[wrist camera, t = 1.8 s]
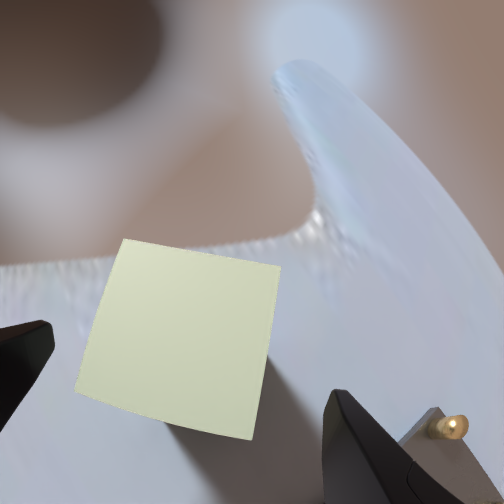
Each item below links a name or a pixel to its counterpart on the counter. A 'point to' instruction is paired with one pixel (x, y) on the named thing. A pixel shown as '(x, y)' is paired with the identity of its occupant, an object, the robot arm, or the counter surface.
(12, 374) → the robot arm
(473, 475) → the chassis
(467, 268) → the counter surface
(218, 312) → the sage block
